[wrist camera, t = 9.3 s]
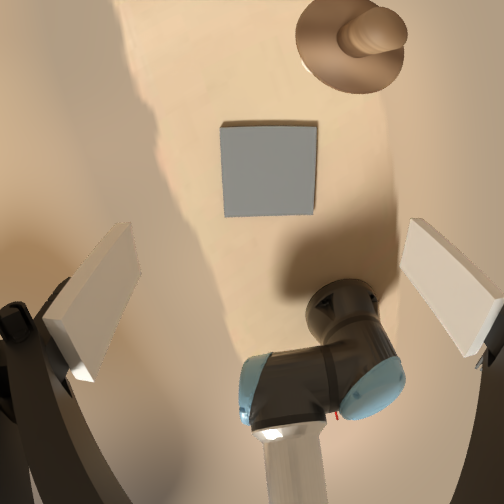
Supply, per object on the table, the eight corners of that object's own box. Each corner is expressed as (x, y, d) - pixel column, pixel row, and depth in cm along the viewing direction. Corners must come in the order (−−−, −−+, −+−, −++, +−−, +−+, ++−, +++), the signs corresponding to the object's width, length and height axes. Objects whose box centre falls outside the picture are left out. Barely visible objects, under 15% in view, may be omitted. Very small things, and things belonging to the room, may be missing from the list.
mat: (311, 212, 47) (313, 214, 46) (225, 215, 47) (224, 217, 46) (315, 126, 40) (316, 127, 39) (220, 127, 40) (219, 128, 39)
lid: (399, 100, 27) (444, 105, 19) (297, 90, 26) (318, 86, 19) (395, 7, 21) (436, -10, 13) (292, -10, 21) (309, -43, 13)
